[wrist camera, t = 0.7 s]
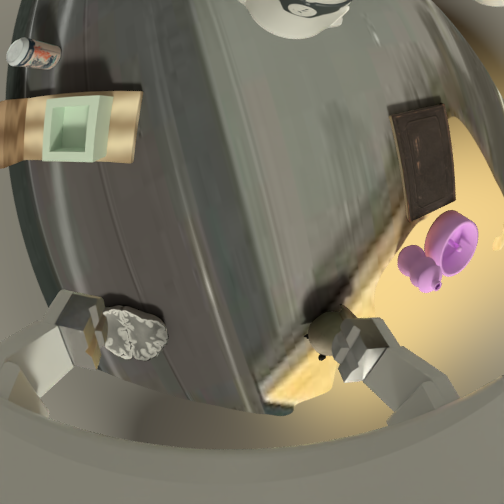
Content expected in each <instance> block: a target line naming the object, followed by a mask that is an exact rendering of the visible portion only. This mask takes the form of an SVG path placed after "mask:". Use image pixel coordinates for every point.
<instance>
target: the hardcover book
mask: <svg viewBox="0 0 504 504" xmlns="http://www.w3.org/2000/svg"><path fill="white" fill-rule="evenodd" d="M389 119H390V123H391V127H392V131H393V135H394V140H395V144H396V149H397V154H398V160H399V165H400V171H401V177H402V184H403V191H404V199H405V207H406V217H407V219H409V222H411V221H413V220H416V219H418V218H420V217H422V216H424V215H426V214H428V213H431V212H432V211H435V210H437V209H439V208H441V207H443V206H445V205H447V204H449V203H451V202H453V201H455V200H456V197H455V176H454V163H453V153H452V145H451V138H450V131H449V125H448V119H447V114H446V109H445V104H443V103H440V105H435V106H430V107H425V108H420V109H416V110H411V111H407V112H403V113H398V114H394V115H390V116H389Z"/></svg>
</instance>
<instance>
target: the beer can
mask: <svg viewBox="0 0 504 504" xmlns="http://www.w3.org/2000/svg"><path fill="white" fill-rule="evenodd" d="M60 57H61V49H60V48H59V47H58V46H55V45H52V44H48V43H45V42H41V41H37V40H33V39H29V38H21V39H19V40H16V41H15V42H14V43H13V44H12V45H11V46H10V47H9V50H8V52H7V56H6V60H7V62H8V63H9V65H11V66H19V67H30V68H39V69H46V70H47V69H51V68H53V67H54V66H55V65H56V64H57V63H58V61H59V59H60Z"/></svg>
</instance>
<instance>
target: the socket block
mask: <svg viewBox="0 0 504 504" xmlns="http://www.w3.org/2000/svg"><path fill="white" fill-rule="evenodd" d="M112 103H113V97H111V96H102V95H94V96H75V97H63V98H53V99H47V102H46V110H45V120H44V132H43V151H42V161H71V162H95V161H97V160H99V159H101V158H103V157H105V156H106V154H107V142H108V133H109V124H110V117H111V110H112Z"/></svg>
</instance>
